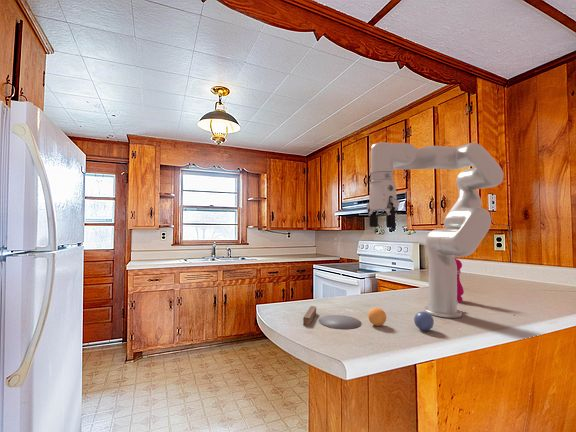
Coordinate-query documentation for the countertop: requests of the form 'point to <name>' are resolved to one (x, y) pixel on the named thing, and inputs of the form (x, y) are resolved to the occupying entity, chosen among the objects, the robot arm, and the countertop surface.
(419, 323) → the blue ball
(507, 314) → the countertop surface
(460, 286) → the pepper mill
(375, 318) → the object ball
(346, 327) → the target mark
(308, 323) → the rail
